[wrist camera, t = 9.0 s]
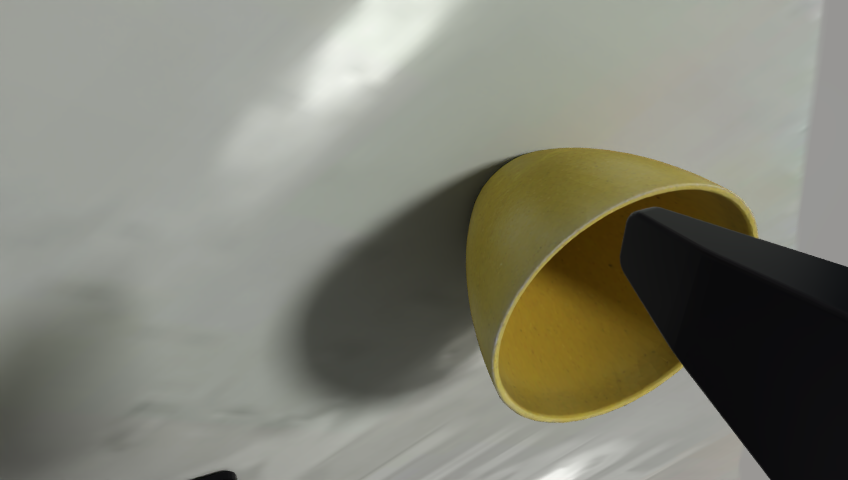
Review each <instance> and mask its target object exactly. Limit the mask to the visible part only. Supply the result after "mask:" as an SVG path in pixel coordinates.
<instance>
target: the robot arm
mask: <svg viewBox="0 0 848 480" xmlns="http://www.w3.org/2000/svg"><path fill="white" fill-rule="evenodd" d="M620 264H621V268H622V270H623V272H624V274H625V276H626V278H627V279H628V281H629V282H630V284H631V286H632V287H633V289H634V291H635V292H636V294H637V295H638V297H639V299H640V300H641V302H642V304H643V305H644V307H645V308H646V310H647V312H648V313H649V315H650V317H651V318H652V320H653V321H654V323H655V325H656V326H657V328H658V330H659V331H660V333H661V334H662V336H663V338H664V339H665V341H666V342H667V344H668V345H669V347H670V348H671V350H672V351H673V353H674V354H675V356H676V357H677V358H678V360H679V361H680V362H681V364H682V365H683V366H684V368H685V369H686V370H687V372H688V373H689V374H690V376H691V377H692V378H693V379H694V381H695V382H696V383H697V385H698V386H699V387H700V389H701V390H702V391H703V393H704V394H705V395H706V396H707V398H708V399H709V400H710V402H711V403H712V404H713V406H714V407H715V408H716V409H717V411H718V412H719V413H720V415H721V416H722V417H723V419H724V420H725V421H726V422H727V424H728V425H729V426H730V428H731V429H732V430H733V432H734V433H735V434H736V435H737V437H738V438H739V439H740V441H741V442H742V443H743V445H744V446H745V447H746V448H747V450H748V451H749V452H750V454H751V455H752V456H753V458H754V459H755V460H756V462H757V463H758V464H759V465H760V467H761V468H762V469H763V471H764V472H765V473H766V474H767V476H768V477H769V478H770V480H848V267H846V266H843V265H840V264H837V263H833V262H830V261H827V260H824V259H821V258H818V257H815V256H812V255H808V254H805V253H802V252H799V251H796V250H793V249H790V248H787V247H783V246H780V245H777V244H774V243H771V242H768V241H765V240H761V239H758V238H755V237H752V236H749V235H746V234H743V233H739V232H736V231H733V230H730V229H727V228H724V227H721V226H717V225H714V224H711V223H708V222H705V221H702V220H698V219H695V218H692V217H689V216H686V215H683V214H680V213H676V212H673V211H670V210H667V209H664V208H661V207H650V208H646V209H642V210H638V211H635V212H633V213H631V214H630V215H629V217H628V218H627V221H626V226H625V231H624V236H623V241H622V246H621V251H620ZM198 480H237V477H236V474H235V473H234V472H232V471H225V472H221V473H218V474H214V475H211V476H208V477H205V478H201V479H198Z"/></svg>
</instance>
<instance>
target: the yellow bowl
mask: <svg viewBox="0 0 848 480" xmlns="http://www.w3.org/2000/svg"><path fill="white" fill-rule="evenodd" d="M650 207H661V208H664V209H667V210H670V211H673V212H676V213H680V214H683V215H686V216H689V217H692V218H695V219H698V220H702V221H705V222H708V223H711V224H714V225H717V226H721V227H724V228H727V229H730V230H733V231H736V232H739V233H743V234H746V235H749V236H752V237H755V238H758V229H757V224H756V221H755V218H754V215H753V213H752V211H751V210H750V208H749V207H748V205H747V204H746V203H745V202H744V200H743V199H741V198H740V197H739V196H738V195H736V194H735V193H733V192H732V191H730V190H728V189H726V188H724V187H722V186H720V185H718V184H716V183H714V182H712V181H709V180H707V179H705V178H703V177H701V176H698V175H696V174H694V173H691V172H689V171H686V170H683V169H681V168H678V167H675V166H672V165H669V164H666V163H663V162H660V161H657V160H653V159H649V158H645V157H641V156H637V155H633V154H628V153H622V152H616V151H610V150H602V149H591V148H558V149H548V150H540V151H535V152H531V153H528V154H524V155H522V156H519V157H517V158H515V159H513V160H512V161H510V162H508V163H507V164H506V165H504V166H503V167H501V168H500V169H499V170H498V171H497V172H496V173H495V174H494V175H493V176H492V177H491V178H490V179H489V180H488V181H487V183H486V184H485V185H484V187H483V188H482V190H481V191H480V193H479V195H478V197H477V199H476V201H475V204H474V207H473V211H472V214H471V219H470V224H469V230H468V237H467V245H466V277H467V289H468V297H469V304H470V310H471V316H472V320H473V325H474V328H475V332H476V336H477V340H478V343H479V346H480V350H481V353H482V356H483V359H484V362H485V364H486V367H487V369H488V372H489V375H490V377H491V380H492V382H493V384H494V386H495V389H496V391H497V393H498V395H499V397H500V398H501V400H502V401H503V402H504V403H505V404H506V405H507V406H508V407H509V408H510V409H511V410H513V411H514V412H516V413H517V414H519V415H521V416H523V417H525V418H529V419H531V420H534V421H540V422H548V423H557V422H559V423H564V422H572V421H579V420H584V419H587V418H592V417H595V416H599V415H603V414H605V413H608V412H610V411H613V410H615V409H618V408H620V407H622V406H625V405H627V404H629V403H631V402H633V401H635V400H636V399H638V398H640V397H641V396H643V395H645V394H647V393H649V392H650V391H652V390H654V389H655V388H656V387H658V386H659V385H661V384H662V383H664V382H665V381H666V380H668V379H669V378H670V377H672V376H673V375H674V374H675V373H677V372H678V371H679V370H680V369H682V368H683V367H684V366H683V365H682V364H681V362H680V361H679V360H678V358H677V357H676V356H675V354H674V353H673V351H672V350H671V348H670V347H669V345H668V344H667V342H666V341H665V339H664V338H663V336H662V334H661V333H660V331H659V330H658V328H657V326H656V325H655V323H654V321H653V320H652V318H651V317H650V315H649V313H648V312H647V310H646V308H645V307H644V305H643V304H642V302H641V300H640V299H639V297H638V295H637V294H636V292H635V291H634V289H633V287H632V286H631V284H630V282H629V281H628V279H627V278H626V276H625V274H624V272H623V270H622V268H621V264H620V251H621V246H622V241H623V236H624V231H625V226H626V221H627V218H628V217H629V215H630V214H631V213H633V212H635V211H638V210H642V209H646V208H650ZM758 239H759V238H758Z"/></svg>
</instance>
